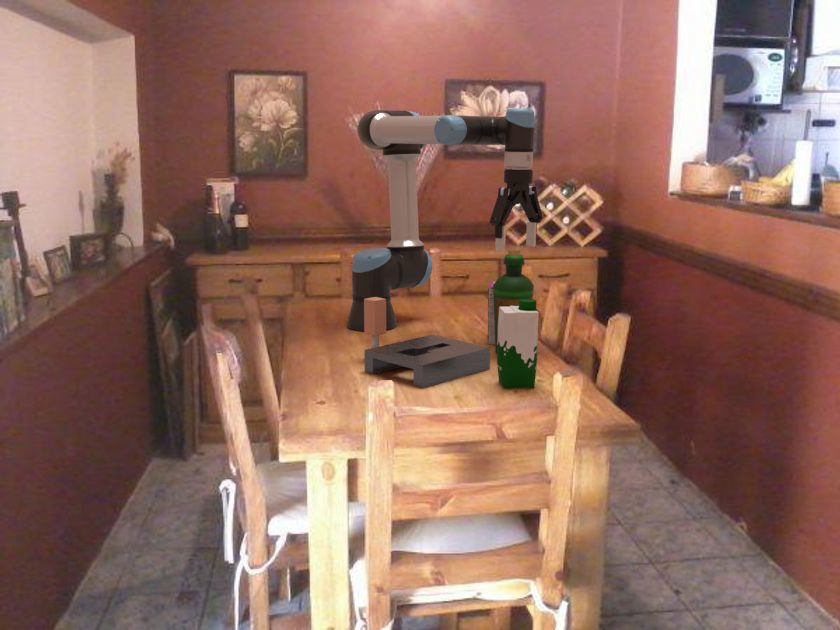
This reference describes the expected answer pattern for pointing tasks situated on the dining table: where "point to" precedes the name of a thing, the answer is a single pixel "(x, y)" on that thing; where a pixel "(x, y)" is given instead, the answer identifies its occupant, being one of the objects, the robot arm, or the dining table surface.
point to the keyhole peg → (375, 318)
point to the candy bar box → (491, 315)
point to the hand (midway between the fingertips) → (515, 248)
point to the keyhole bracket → (430, 359)
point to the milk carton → (517, 344)
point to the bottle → (511, 286)
